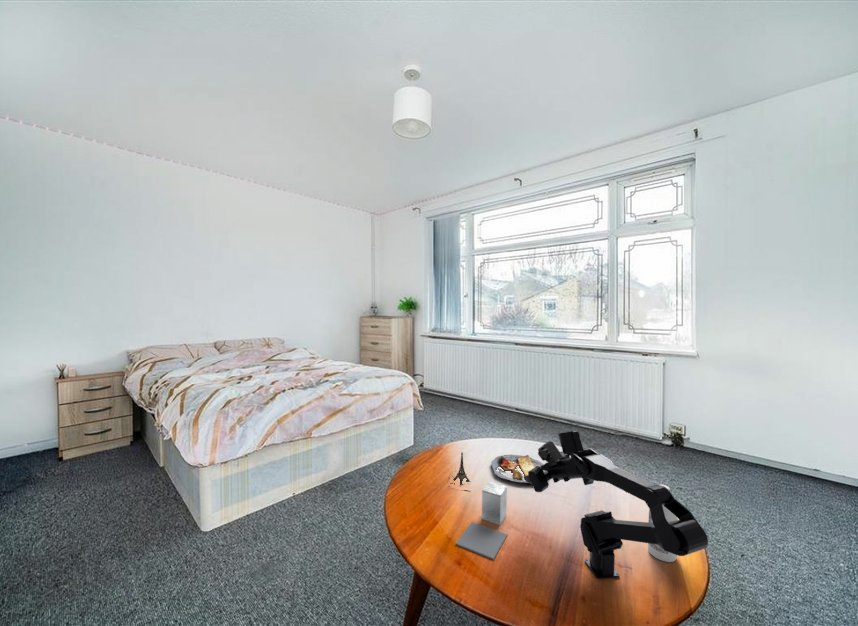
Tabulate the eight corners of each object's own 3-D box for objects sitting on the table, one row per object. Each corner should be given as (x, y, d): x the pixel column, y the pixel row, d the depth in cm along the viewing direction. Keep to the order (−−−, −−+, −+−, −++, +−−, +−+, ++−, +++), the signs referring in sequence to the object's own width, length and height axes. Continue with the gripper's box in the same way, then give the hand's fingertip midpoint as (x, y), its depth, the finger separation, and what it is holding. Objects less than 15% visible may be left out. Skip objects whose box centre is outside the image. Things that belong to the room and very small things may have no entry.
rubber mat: (507, 535, 108) (507, 534, 108) (493, 560, 98) (493, 558, 98) (471, 523, 114) (471, 521, 114) (455, 544, 104) (455, 543, 104)
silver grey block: (506, 515, 119) (506, 486, 119) (500, 525, 113) (500, 495, 113) (488, 509, 122) (489, 481, 122) (481, 519, 117) (482, 489, 116)
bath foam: (663, 545, 105) (665, 480, 104) (682, 562, 98) (684, 492, 97) (642, 546, 104) (644, 481, 104) (659, 564, 97) (661, 493, 97)
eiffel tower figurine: (450, 472, 150) (451, 441, 150) (474, 474, 148) (474, 443, 148) (445, 490, 136) (446, 456, 135) (471, 493, 134) (472, 458, 133)
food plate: (488, 457, 164) (488, 450, 163) (538, 459, 163) (538, 452, 162) (496, 487, 139) (496, 478, 138) (555, 489, 138) (555, 480, 138)
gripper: (574, 432, 113) (539, 440, 125) (540, 452, 102) (504, 458, 114) (590, 467, 110) (552, 471, 122) (556, 491, 99) (519, 494, 111)
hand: (532, 472), depth 117 cm, fingers open, 9 cm apart
